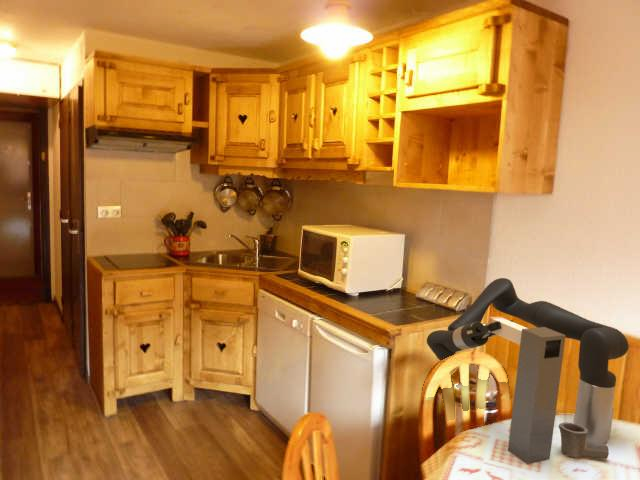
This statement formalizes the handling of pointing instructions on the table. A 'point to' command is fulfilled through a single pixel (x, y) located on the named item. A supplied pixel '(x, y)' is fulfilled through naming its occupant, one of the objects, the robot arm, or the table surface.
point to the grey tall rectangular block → (536, 394)
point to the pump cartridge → (508, 329)
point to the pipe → (579, 442)
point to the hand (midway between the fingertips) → (506, 324)
